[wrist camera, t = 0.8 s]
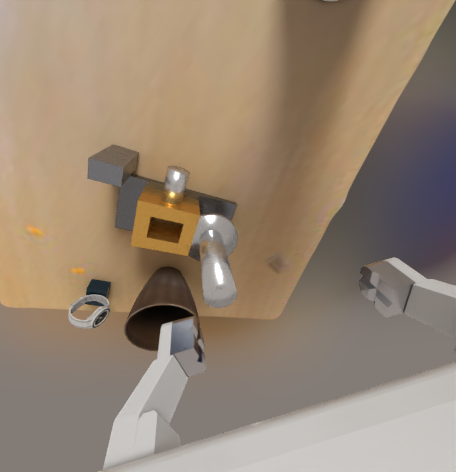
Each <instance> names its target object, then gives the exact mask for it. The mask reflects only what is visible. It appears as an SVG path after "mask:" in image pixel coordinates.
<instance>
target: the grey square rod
mask: <svg viewBox="0 0 456 472" xmlns="http://www.w3.org/2000/svg"><path fill="white" fill-rule="evenodd" d="M138 155H139V152H136V151H133V150H130V149H126V148H123V147H120V146H117V145H111V146H110V147H108V148H106V149H104V150H102V151H100V152H98V153H97V154H95V155H93V156H91V157H89V158H88V179H91V180H95V181H99V182H103V183H107V184H111V185H115V186H119V187H122V185H123V184H124V183H125V182H126V180H127V179H128V178H129V177H130V175H131V174H132V173H133V172H134V170H135V169H136V168H137V162H138Z"/></svg>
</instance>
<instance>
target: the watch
mask: <svg viewBox="0 0 456 472" xmlns="http://www.w3.org/2000/svg"><path fill="white" fill-rule="evenodd" d="M110 283H111V282H106V281H100V280H94V279H92V280H91V282H90V284H89V285H88V287H87V292H86V296H83V297H81V298H79V299H77V300H76V301H75V302H74V303H72V304H71V306H70V308H69V315H68V319H69V322H70V323H71V324H72V325H74V326H75V327H78V328H86V329H88V328H95V327H98V326H99V325H100V324H101V323H102V322H103V321H104V320H105V319H106V318H107V316H108V315H109V312H110V309H109V301H108V300H107V298H108V293H109V288H110ZM84 304H88V305H96V306H101V307H99V308H98V309H97V310H96V311H95V312H94V313H93V314H92V315H91V316H90V317H88V318H87V320H78V319H77V318H75V317H73V316H72V313H73V312H74V311H75V310H77V309H78V308H79V307H81V306H82V305H84Z"/></svg>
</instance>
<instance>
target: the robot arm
mask: <svg viewBox="0 0 456 472" xmlns="http://www.w3.org/2000/svg"><path fill="white" fill-rule="evenodd" d="M324 1H338V0H324ZM360 273H361V274H362V275H363V276H362V277H361V278H360V280H359V287H360V290H361V292H362V293H363V295H364V296H365V297H366V298H367V299H369V300H371V301H374V306H375V307H376V308H377V309H378V310H379V312H380V313H381V314H382V315H383V316H384V317H390V316H394V315H397V314H401V313H404V314H405V315H407V316H409V317H411V318H413V319H415V320H418V321H419V322H421V323H423V324H425V325H427V326H429V327H431V328H433V329H435V330H437V331H439V332H441V333H443V334H445V335H447V336H449V337H451V338H453V339H455V340H456V286H454V285H451V284H447V283H444V282H440V281H437V280H434V279H429V280H428V279H426V278H425V277H423V276H422V275H420V274H419V273H418V272H416V271H415V270H413V269H412V268H411V267H409V266H408V265H406V264H405V263H403V262H402V261H400V260H399V259H397V258H391V259H387V260H384V261H380V262H376V263H373V264H370V265H367V266H363V267H362V268H361V272H360ZM203 349H204V338H203V333H202V330H201V328H200V326H198V325H197V319H196V317H195V316H191V317H187V318H184V319H180V320H176V321H173V322H169V323H165V324H162V326H161V330H160V338H159V347H158V355H157V360H154V361H153V362H152V364H151V365H150V367H149V369H148V370H147V372H146V373H145V375H144V376H143V378H142V379H141V381H140V382H139V384H138V385H137V387H136V389H135V390H134V391H133V393H132V395H131V396H130V398H129V399H128V401H127V402H126V404H125V405H124V407H123V408H122V410H121V411H120V413H119V414H118V416H117V417H116V419H115V420H114V424H113V429H112V433H111V437H110V441H109V446H108V450H107V454H106V459H105V463H104V467H103V470H102V471H98V472H456V362H453V363H450V364H446V365H443V366H440V367H437V368H433V369H430V370H427V371H423V372H420V373H417V374H414V375H411V376H407V377H404V378H401V379H397V380H394V381H391V382H388V383H385V384H381V385H378V386H375V387H372V388H368V389H365V390H362V391H358V392H355V393H352V394H349V395H345V396H342V397H339V398H336V399H332V400H329V401H326V402H323V403H319V404H316V405H313V406H309V407H306V408H303V409H300V410H297V411H294V412H290V413H287V414H283V415H280V416H277V417H274V418H270V419H268V420H264V421H261V422H258V423H254V424H251V425H248V426H244V427H242V428H238V429H235V430H232V431H228V432H225V433H222V434H219V435H215V436H212V437H209V438H206V439H202V440H199V441H196V442H193V443H189V444H186V445H183V446H180V437H179V436H178V434H177V433H176V432H175V431H174V430H173V429H172V428H171V427H170V426H169V423H170V420H171V418H172V416H173V414H174V411H175V409H176V406H177V404H178V402H179V399H180V397H181V394H182V392H183V389H184V387H185V385H186V382H187V380H188V377H190V376H193V375H196V374H199V373H202V372H205V371H206V359H205V355H204V352H203V351H202V350H203ZM454 353H455V354H456V347H455V348H454Z"/></svg>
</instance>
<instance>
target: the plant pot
mask: <svg viewBox="0 0 456 472" xmlns="http://www.w3.org/2000/svg"><path fill="white" fill-rule="evenodd" d="M191 316H195V317H196V319H197V325H198V326H200V323H199V318H198V313H197V309H196V306H195V302H194V299H193V297H192V294H191V291H190V289H189V287H188V285H187V283H186V281H185V279H184V277H183V276H182V274H181V273H180V271H179V270H177V269H175V268H173V267H164V268H160V269H159V270H157V271H156V272H155V273H154V274H153V276H152V277H151V278H150V279H149V281H148V282H147V283H146V285H145V286H144V288H143V289H142V291H141V292H140V294H139V296H138V298H137V299H136V301H135V303H134V305H133V307H132V309H131V311H130V314H129V316H128V318H127V320H126V323H125V325H124V333H125V336H126V338H127V339H128V340H129V341H130V342H131V343H132V344H133V345H135V346H137V347H139V348H142V349H145V350H149V351H158V347H159V338H160V330H161V326H162V324H165V323H169V322H173V321H176V320H180V319H184V318H187V317H191Z"/></svg>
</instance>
